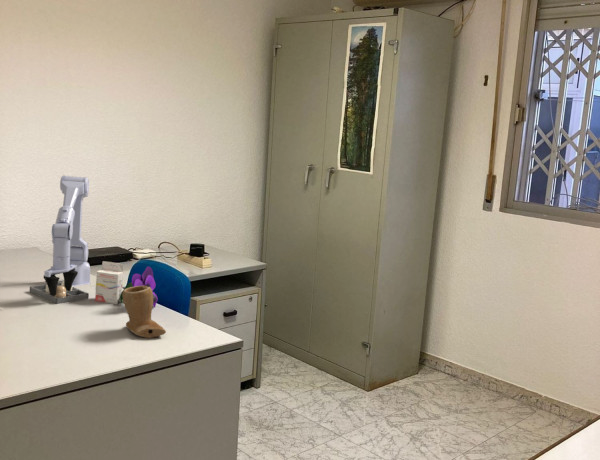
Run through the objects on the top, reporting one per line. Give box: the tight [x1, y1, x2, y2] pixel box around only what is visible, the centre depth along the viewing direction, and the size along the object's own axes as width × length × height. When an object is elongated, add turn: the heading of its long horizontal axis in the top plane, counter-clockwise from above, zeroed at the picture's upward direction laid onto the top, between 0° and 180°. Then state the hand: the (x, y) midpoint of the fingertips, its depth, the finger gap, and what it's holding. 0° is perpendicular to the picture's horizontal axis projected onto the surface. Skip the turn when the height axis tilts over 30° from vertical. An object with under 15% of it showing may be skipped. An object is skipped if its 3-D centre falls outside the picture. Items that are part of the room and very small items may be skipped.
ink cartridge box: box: [94, 260, 124, 306], centre depth 241 cm, size 9×5×15 cm, turn 82°
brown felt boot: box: [122, 286, 167, 339], centre depth 211 cm, size 15×12×15 cm
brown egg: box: [54, 286, 66, 298], centre depth 236 cm, size 4×4×6 cm
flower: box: [119, 266, 158, 308], centre depth 239 cm, size 15×15×14 cm
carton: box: [29, 281, 90, 305], centre depth 243 cm, size 13×19×2 cm
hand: (60, 292), depth 236 cm, fingers open, 7 cm apart
